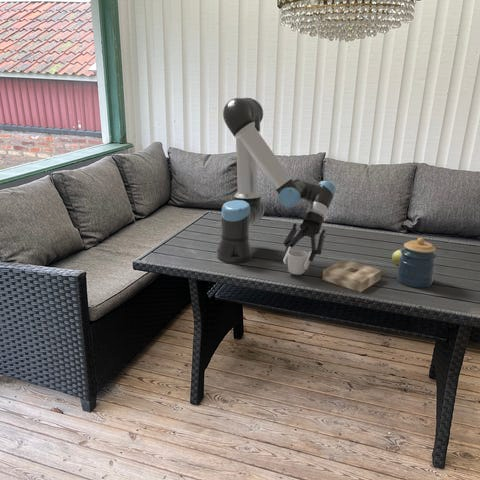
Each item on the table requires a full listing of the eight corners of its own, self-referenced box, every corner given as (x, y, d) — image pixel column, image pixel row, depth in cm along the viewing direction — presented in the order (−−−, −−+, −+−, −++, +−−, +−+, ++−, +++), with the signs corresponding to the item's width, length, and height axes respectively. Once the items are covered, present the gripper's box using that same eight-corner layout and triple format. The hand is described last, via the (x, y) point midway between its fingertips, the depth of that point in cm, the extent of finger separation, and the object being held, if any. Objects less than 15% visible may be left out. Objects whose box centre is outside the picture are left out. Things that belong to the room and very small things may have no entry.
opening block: (322, 279, 173) (323, 269, 172) (343, 268, 185) (344, 259, 184) (360, 292, 163) (361, 282, 162) (380, 279, 175) (381, 270, 174)
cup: (296, 264, 184) (298, 246, 182) (313, 270, 180) (315, 251, 177) (281, 272, 176) (283, 253, 174) (299, 278, 172) (301, 258, 169)
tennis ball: (404, 252, 185) (411, 249, 190) (388, 250, 190) (396, 247, 195) (404, 267, 187) (411, 263, 192) (388, 265, 192) (396, 261, 196)
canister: (439, 286, 170) (447, 242, 165) (410, 290, 167) (417, 244, 161) (417, 273, 182) (424, 231, 176) (389, 276, 178) (395, 233, 173)
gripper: (341, 225, 180) (322, 275, 172) (294, 216, 190) (273, 263, 182) (338, 215, 174) (318, 267, 166) (289, 206, 184) (268, 254, 176)
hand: (294, 265), depth 174 cm, fingers closed on cup, 8 cm apart
